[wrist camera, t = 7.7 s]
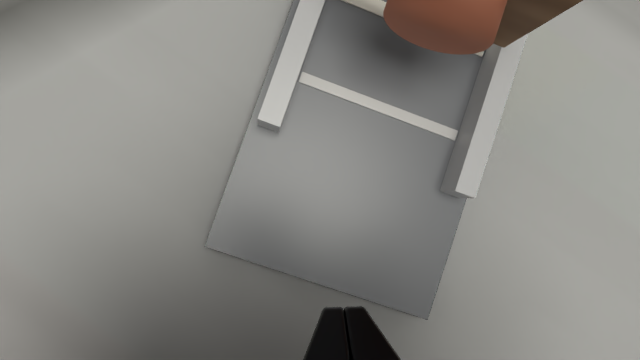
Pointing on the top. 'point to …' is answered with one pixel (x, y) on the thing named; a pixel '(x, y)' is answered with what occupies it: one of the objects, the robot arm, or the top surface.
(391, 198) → the press base
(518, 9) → the press plate
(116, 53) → the top surface
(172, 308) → the top surface
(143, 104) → the top surface
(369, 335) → the robot arm
